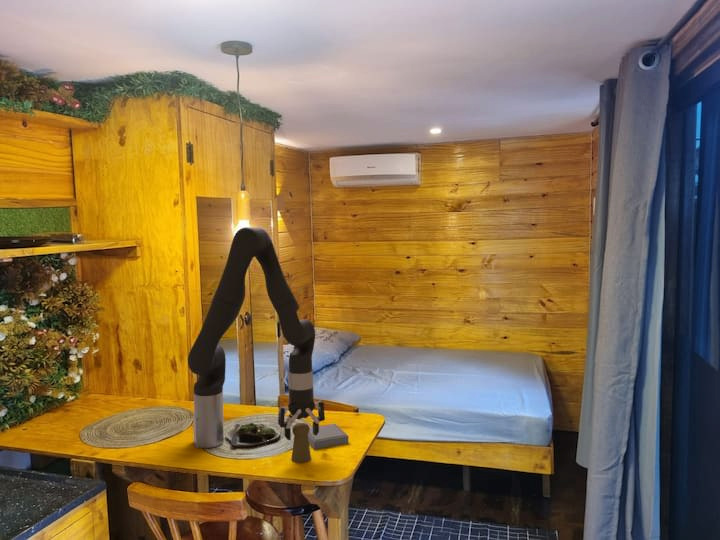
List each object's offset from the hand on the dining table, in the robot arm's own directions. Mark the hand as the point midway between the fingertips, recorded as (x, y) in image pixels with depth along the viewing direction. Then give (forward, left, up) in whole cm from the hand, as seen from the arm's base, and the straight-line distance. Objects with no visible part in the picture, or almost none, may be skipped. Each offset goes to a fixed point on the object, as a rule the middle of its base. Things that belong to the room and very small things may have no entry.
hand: (302, 436), depth 168 cm
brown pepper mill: (0, 0, -7) cm, 7 cm away
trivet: (+12, +11, -7) cm, 18 cm away
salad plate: (-10, +22, -8) cm, 26 cm away
